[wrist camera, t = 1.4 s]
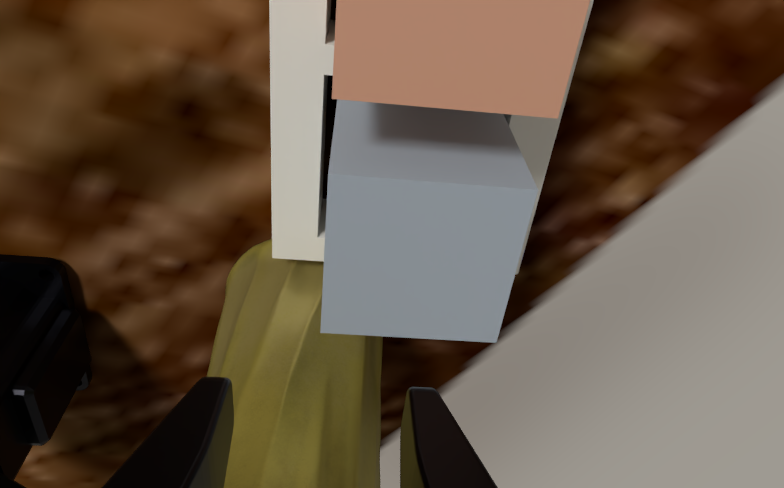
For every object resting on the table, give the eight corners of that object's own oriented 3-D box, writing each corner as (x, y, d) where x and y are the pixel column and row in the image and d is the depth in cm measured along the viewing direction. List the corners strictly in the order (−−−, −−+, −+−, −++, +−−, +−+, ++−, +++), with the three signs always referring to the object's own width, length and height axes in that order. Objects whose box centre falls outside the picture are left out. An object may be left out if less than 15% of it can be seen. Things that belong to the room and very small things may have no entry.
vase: (419, 294, 23) (468, 764, 12) (315, 374, 26) (269, 834, 14) (298, 199, 21) (204, 678, 9) (194, 298, 23) (15, 781, 12)
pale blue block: (331, 222, 19) (320, 333, 15) (338, 86, 16) (328, 173, 12) (469, 232, 19) (496, 342, 15) (497, 101, 17) (538, 190, 13)
